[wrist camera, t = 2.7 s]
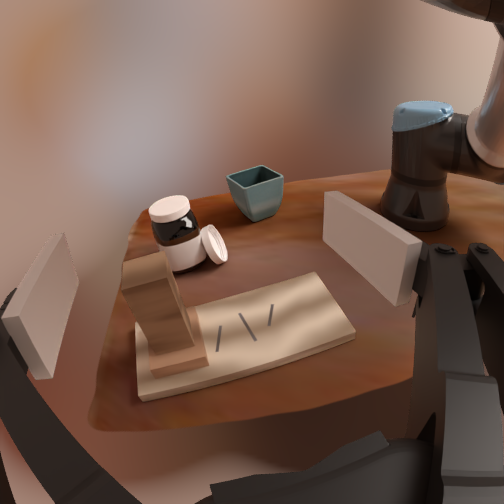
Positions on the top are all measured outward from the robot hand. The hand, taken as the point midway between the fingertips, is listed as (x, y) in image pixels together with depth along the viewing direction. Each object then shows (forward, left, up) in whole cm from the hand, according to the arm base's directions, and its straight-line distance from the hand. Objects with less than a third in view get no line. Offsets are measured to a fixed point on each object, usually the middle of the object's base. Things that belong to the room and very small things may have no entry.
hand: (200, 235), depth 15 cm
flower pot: (-45, +13, -26) cm, 54 cm away
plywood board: (-15, +1, -26) cm, 30 cm away
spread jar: (-35, -2, -26) cm, 44 cm away
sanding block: (-15, -7, -24) cm, 29 cm away
